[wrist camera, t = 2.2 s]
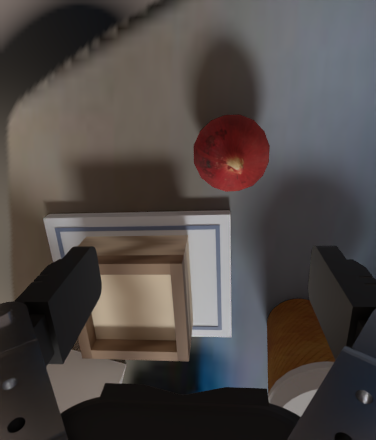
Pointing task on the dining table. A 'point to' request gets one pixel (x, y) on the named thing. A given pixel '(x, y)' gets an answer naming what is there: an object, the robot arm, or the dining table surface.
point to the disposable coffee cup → (296, 355)
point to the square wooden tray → (140, 299)
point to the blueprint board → (161, 226)
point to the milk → (82, 378)
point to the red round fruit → (231, 152)
